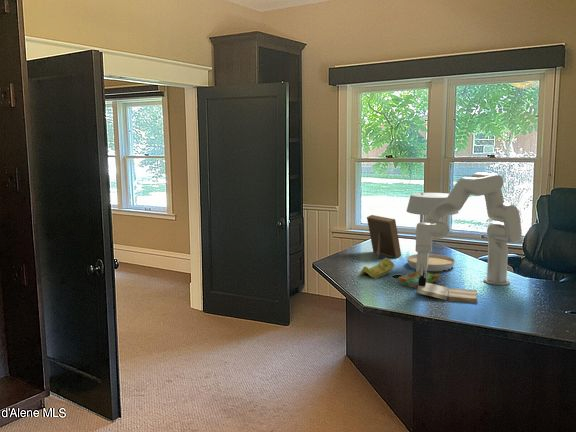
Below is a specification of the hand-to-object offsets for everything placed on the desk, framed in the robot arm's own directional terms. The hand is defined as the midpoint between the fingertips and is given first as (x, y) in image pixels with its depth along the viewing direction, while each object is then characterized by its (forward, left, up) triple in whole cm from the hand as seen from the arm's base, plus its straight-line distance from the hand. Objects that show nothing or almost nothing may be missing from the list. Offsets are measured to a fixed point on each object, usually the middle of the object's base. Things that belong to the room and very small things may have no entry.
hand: (422, 285), depth 253 cm
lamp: (-57, 0, -5) cm, 57 cm away
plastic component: (-31, -26, -5) cm, 41 cm away
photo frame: (-75, -32, -5) cm, 82 cm away
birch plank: (0, +5, -3) cm, 6 cm away
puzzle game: (-20, -3, -5) cm, 20 cm away
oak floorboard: (0, +19, -4) cm, 19 cm away
